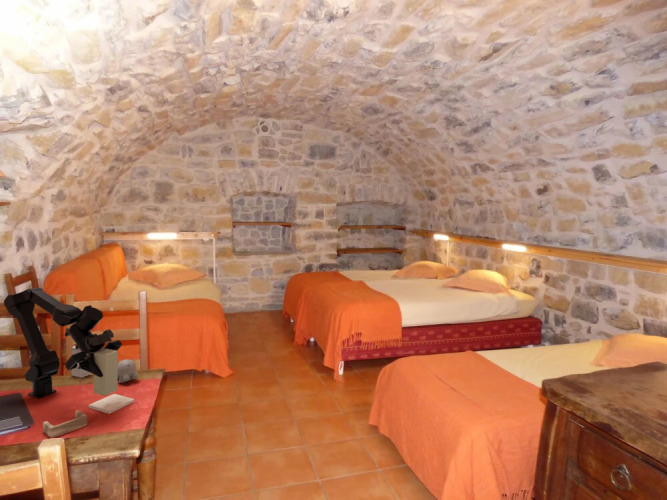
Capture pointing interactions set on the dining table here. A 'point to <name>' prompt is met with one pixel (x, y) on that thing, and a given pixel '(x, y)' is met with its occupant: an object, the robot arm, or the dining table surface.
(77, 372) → the skincare box
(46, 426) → the birch stall
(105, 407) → the ceramic tile
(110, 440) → the dining table surface
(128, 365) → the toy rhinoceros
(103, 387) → the sage block
